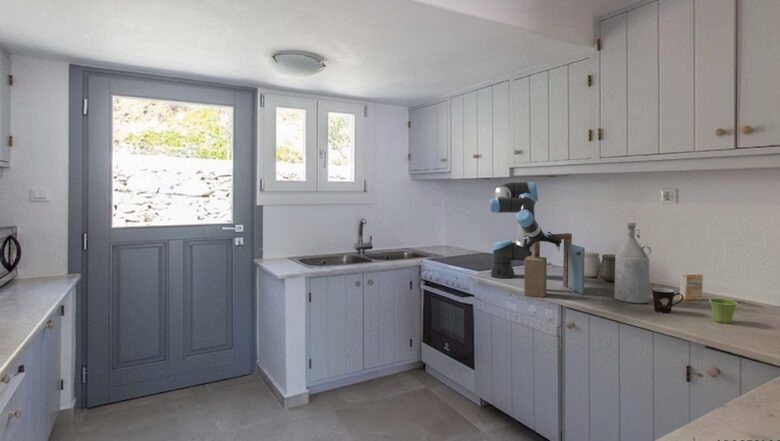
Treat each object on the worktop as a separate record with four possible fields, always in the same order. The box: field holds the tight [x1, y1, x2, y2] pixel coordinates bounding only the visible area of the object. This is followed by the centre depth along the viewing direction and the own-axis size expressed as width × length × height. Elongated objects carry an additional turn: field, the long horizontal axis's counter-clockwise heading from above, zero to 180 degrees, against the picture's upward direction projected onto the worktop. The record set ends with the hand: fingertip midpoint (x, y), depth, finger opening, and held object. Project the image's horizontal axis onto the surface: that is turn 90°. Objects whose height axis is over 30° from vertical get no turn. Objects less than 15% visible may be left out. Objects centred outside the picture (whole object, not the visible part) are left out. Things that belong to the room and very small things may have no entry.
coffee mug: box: [651, 287, 684, 314], centre depth 196 cm, size 12×9×10 cm
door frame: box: [532, 232, 573, 289], centre depth 244 cm, size 3×24×31 cm, turn 104°
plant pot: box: [708, 298, 738, 324], centre depth 181 cm, size 9×9×9 cm
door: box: [568, 243, 586, 295], centre depth 236 cm, size 17×3×25 cm, turn 2°
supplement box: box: [679, 272, 703, 301], centre depth 216 cm, size 8×5×13 cm, turn 89°
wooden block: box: [523, 256, 548, 298], centre depth 231 cm, size 10×10×20 cm
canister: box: [614, 221, 652, 304], centre depth 215 cm, size 13×17×40 cm
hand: (546, 250), depth 234 cm, fingers open, 13 cm apart
